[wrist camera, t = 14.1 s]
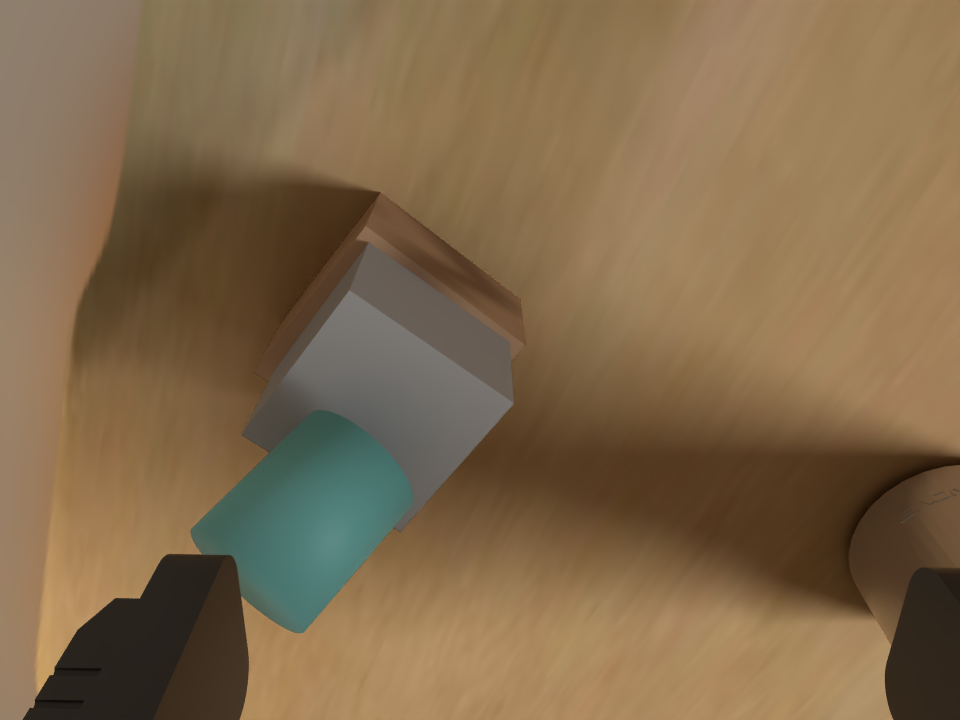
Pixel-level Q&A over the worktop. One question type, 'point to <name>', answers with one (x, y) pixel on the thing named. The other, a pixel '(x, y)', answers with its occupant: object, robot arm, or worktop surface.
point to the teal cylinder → (307, 517)
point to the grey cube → (393, 373)
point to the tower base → (419, 256)
